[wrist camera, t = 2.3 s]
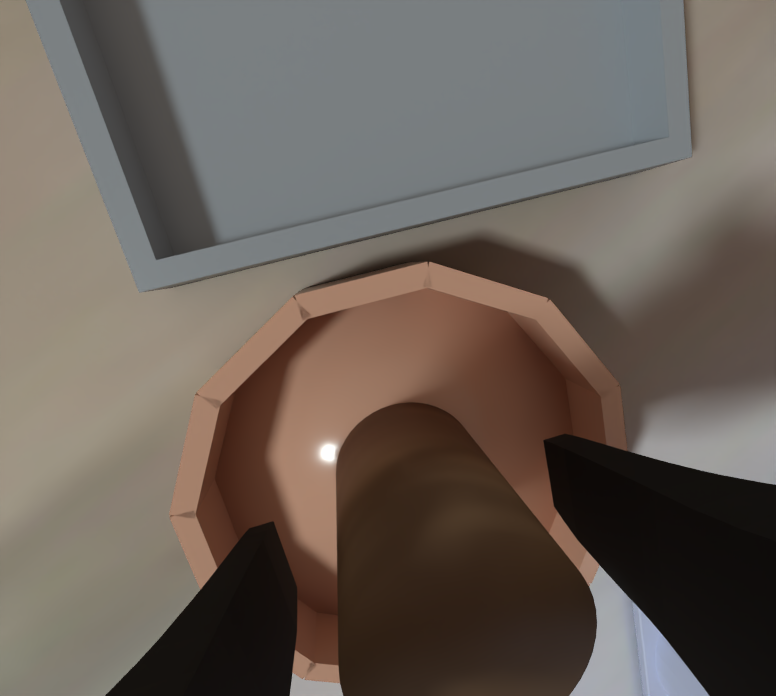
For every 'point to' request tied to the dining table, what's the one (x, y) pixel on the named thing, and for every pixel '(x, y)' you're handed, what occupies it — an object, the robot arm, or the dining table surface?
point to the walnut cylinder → (448, 570)
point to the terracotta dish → (368, 394)
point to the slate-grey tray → (352, 115)
